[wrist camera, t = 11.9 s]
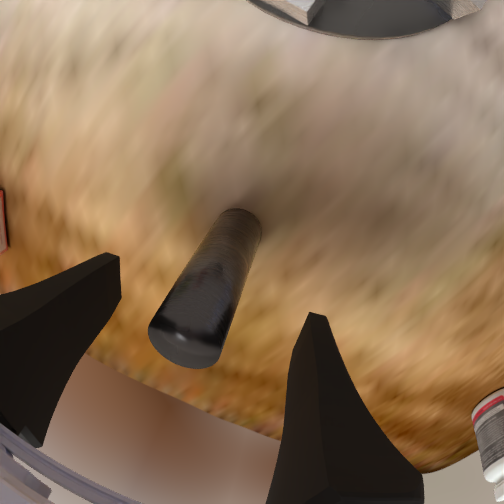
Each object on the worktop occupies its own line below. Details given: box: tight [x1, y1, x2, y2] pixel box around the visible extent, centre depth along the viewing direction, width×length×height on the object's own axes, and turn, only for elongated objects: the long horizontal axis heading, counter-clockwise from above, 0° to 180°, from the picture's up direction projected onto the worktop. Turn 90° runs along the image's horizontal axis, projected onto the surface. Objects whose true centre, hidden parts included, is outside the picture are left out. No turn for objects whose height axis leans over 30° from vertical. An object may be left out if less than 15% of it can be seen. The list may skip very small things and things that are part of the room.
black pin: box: [148, 209, 261, 369], centre depth 13 cm, size 2×2×8 cm
